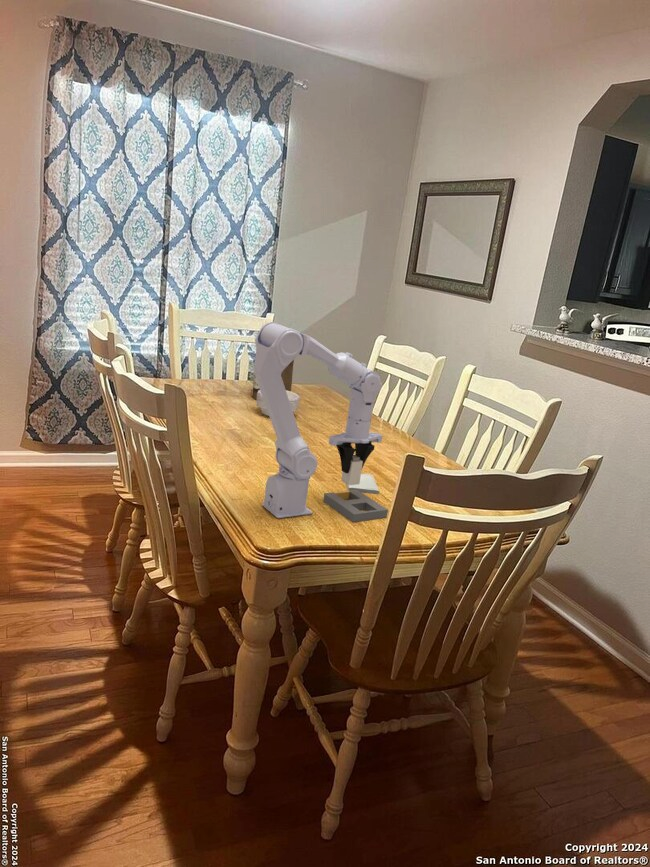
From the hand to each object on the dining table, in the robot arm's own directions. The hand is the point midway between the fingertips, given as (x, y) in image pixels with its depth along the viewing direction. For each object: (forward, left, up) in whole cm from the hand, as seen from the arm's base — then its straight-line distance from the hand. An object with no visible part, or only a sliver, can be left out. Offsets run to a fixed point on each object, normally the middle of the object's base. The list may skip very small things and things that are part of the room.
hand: (351, 471), depth 161 cm
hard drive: (+12, +10, -9) cm, 18 cm away
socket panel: (0, -3, -8) cm, 9 cm away
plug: (0, 0, -3) cm, 3 cm away
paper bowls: (+22, +77, -9) cm, 80 cm away
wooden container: (+31, +98, -9) cm, 103 cm away
